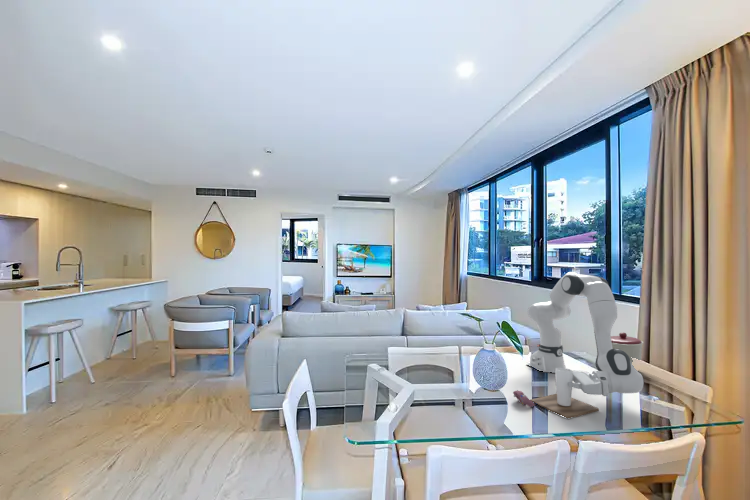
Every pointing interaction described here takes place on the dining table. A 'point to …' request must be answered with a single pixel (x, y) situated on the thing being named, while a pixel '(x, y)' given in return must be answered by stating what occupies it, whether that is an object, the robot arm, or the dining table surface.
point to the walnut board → (567, 411)
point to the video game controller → (523, 398)
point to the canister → (628, 345)
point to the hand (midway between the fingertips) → (564, 380)
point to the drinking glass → (563, 386)
